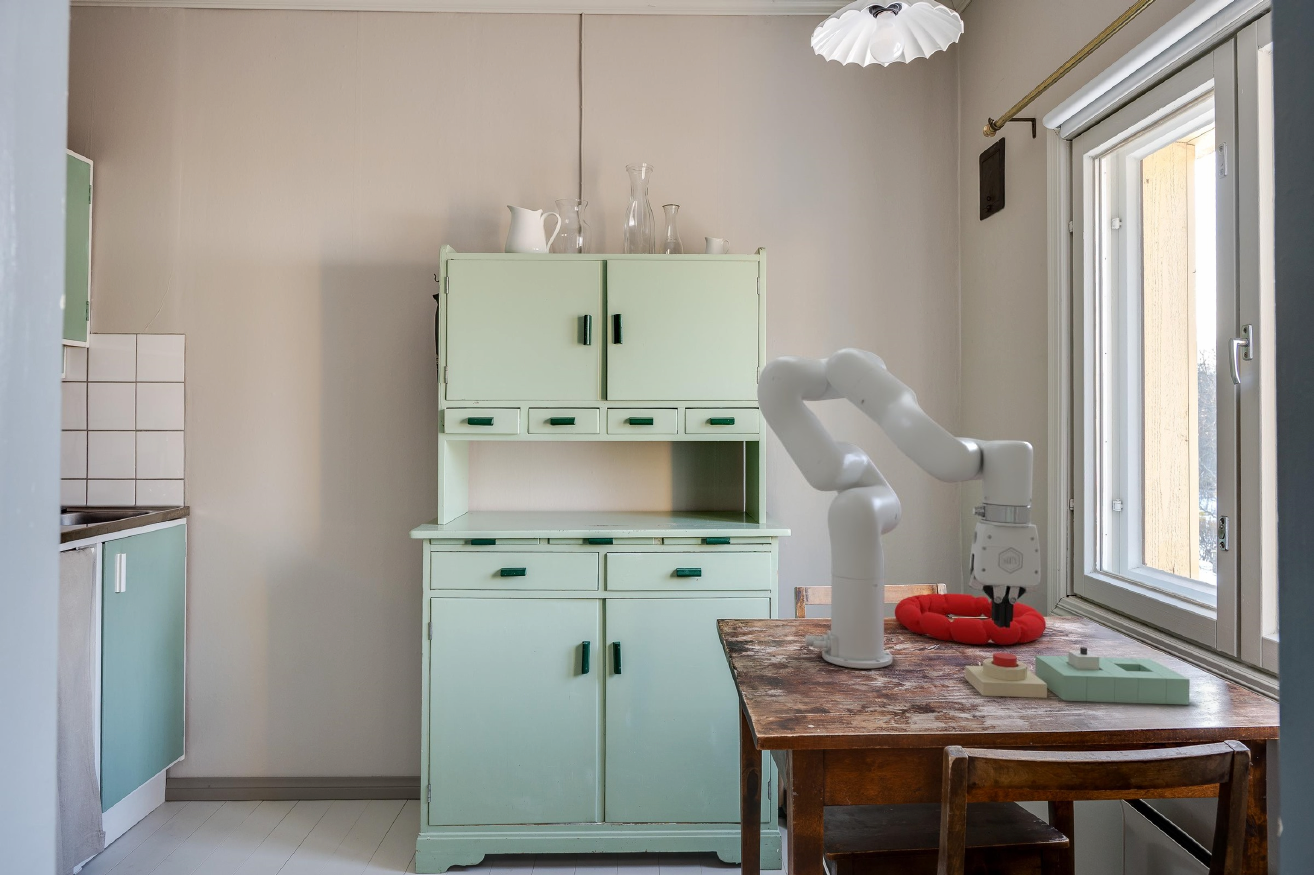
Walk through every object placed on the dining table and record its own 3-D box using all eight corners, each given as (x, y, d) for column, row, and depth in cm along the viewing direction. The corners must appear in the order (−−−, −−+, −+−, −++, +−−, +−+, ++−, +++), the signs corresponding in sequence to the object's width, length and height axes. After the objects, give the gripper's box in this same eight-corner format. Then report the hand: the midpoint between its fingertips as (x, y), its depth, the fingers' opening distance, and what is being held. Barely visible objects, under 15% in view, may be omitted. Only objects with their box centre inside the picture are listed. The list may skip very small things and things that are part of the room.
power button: (997, 669, 129) (997, 658, 129) (989, 662, 132) (989, 652, 132) (1020, 669, 128) (1020, 659, 128) (1011, 663, 132) (1012, 652, 132)
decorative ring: (1065, 627, 152) (1025, 584, 181) (902, 619, 158) (889, 579, 187) (1064, 664, 152) (1024, 615, 182) (901, 654, 158) (888, 608, 188)
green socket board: (1063, 700, 124) (1063, 675, 124) (1034, 678, 135) (1035, 655, 135) (1189, 704, 123) (1189, 679, 123) (1150, 682, 134) (1150, 658, 134)
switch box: (982, 695, 126) (982, 670, 126) (964, 678, 135) (965, 655, 135) (1047, 698, 126) (1047, 672, 125) (1025, 680, 134) (1025, 656, 134)
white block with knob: (1077, 693, 128) (1077, 650, 128) (1067, 686, 131) (1068, 644, 131) (1099, 694, 128) (1099, 651, 128) (1089, 687, 131) (1089, 645, 131)
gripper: (966, 516, 127) (962, 629, 127) (1062, 519, 126) (1058, 634, 126) (952, 510, 135) (948, 618, 135) (1043, 514, 133) (1039, 622, 134)
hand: (1001, 625), depth 131 cm, fingers closed
